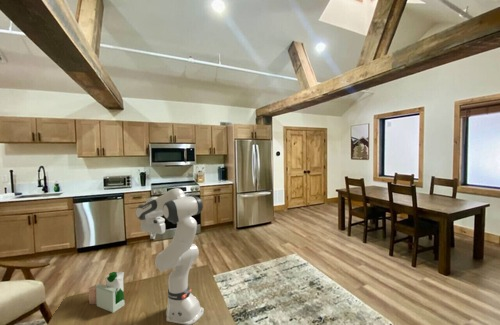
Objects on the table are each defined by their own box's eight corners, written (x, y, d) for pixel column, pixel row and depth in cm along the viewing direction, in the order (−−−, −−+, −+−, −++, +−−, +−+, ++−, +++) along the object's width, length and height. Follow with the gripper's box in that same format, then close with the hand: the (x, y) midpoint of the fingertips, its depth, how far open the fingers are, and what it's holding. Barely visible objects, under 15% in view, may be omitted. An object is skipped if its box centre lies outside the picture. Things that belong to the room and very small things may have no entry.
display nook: (124, 304, 141) (124, 284, 140) (113, 312, 134) (112, 291, 133) (108, 298, 147) (107, 279, 146) (96, 306, 140) (95, 285, 139)
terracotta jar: (102, 299, 146) (102, 286, 145) (93, 305, 140) (92, 291, 140) (96, 297, 148) (96, 284, 148) (87, 302, 143) (86, 289, 142)
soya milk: (104, 307, 139) (103, 275, 138) (113, 297, 148) (112, 267, 147) (118, 307, 139) (117, 275, 138) (126, 297, 148) (125, 268, 147)
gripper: (138, 218, 161) (138, 238, 161) (160, 221, 153) (160, 241, 153) (145, 216, 167) (145, 235, 167) (166, 219, 159) (167, 238, 159)
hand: (152, 238), depth 160 cm, fingers closed
